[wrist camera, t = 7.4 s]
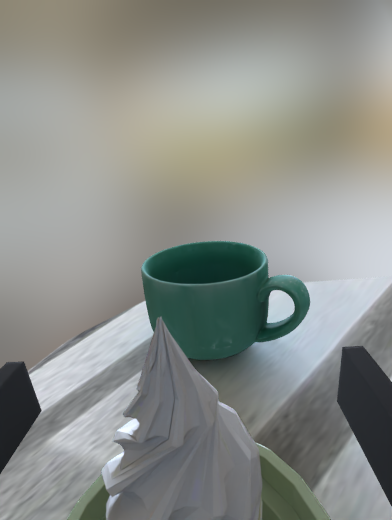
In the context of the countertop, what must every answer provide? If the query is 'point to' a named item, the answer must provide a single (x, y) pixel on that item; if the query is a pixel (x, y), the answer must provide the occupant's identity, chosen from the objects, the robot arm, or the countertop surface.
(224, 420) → the ice cream cone
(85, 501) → the bowl
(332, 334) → the countertop surface
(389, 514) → the countertop surface
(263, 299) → the mug
